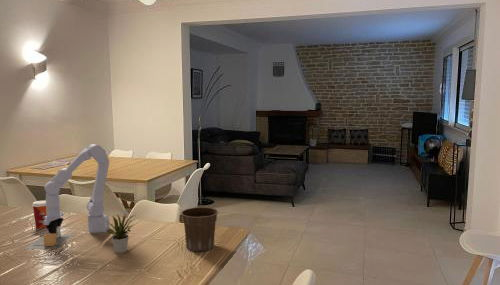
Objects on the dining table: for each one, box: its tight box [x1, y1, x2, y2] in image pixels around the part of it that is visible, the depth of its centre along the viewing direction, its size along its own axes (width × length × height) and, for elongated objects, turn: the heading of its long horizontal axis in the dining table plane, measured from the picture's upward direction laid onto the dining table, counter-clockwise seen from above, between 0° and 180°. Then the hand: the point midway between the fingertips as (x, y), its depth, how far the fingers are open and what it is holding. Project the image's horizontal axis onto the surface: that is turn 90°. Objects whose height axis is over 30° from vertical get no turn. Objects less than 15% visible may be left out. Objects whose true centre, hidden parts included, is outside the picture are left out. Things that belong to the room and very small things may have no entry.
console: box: [24, 233, 76, 250], centre depth 175 cm, size 14×18×1 cm
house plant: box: [103, 213, 136, 254], centre depth 167 cm, size 14×14×16 cm
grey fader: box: [56, 226, 62, 238], centre depth 180 cm, size 4×3×5 cm
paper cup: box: [32, 200, 47, 229], centre depth 196 cm, size 8×8×14 cm
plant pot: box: [180, 206, 219, 252], centre depth 171 cm, size 16×16×16 cm
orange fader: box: [43, 232, 57, 246], centre depth 170 cm, size 4×3×5 cm
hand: (54, 235), depth 180 cm, fingers closed on grey fader, 3 cm apart
